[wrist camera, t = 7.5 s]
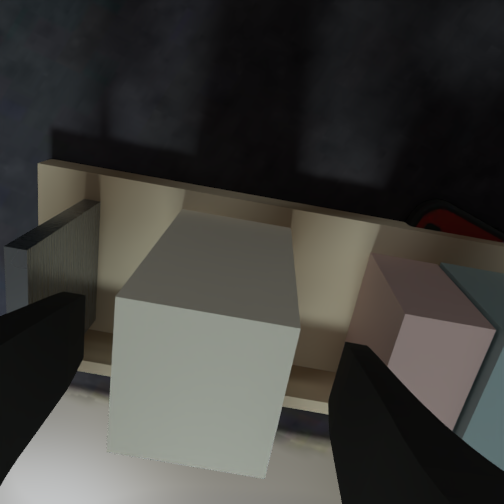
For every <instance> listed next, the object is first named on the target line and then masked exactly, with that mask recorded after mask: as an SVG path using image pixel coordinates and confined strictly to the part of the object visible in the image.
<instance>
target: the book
mask: <svg viewBox="0 0 504 504" xmlns="http://www.w3.org/2000/svg"><path fill="white" fill-rule="evenodd" d="M300 330H301V326H300V316H299V306H298V296H297V286H296V276H295V266H294V255H293V245H292V235H291V228H288V227H283V226H277V225H271V224H265V223H260V222H254V221H248V220H243V219H237V218H231V217H226V216H220V215H214V214H208V213H203V212H197V211H191V210H186V209H182V210H181V211H180V213H179V214H178V215H177V216H176V218H175V219H174V220H173V222H172V223H171V224H170V226H169V227H168V228H167V230H166V231H165V232H164V233H163V235H162V236H161V237H160V239H159V240H158V241H157V243H156V244H155V245H154V247H153V248H152V249H151V251H150V252H149V253H148V254H147V256H146V257H145V258H144V260H143V261H142V262H141V264H140V265H139V266H138V268H137V269H136V270H135V272H134V273H133V274H132V275H131V277H130V278H129V279H128V281H127V282H126V283H125V285H124V286H123V287H122V289H121V290H120V291H119V293H118V294H117V295H116V296H115V312H114V330H113V347H112V365H111V382H110V400H109V418H108V436H107V452H109V453H115V454H121V455H127V456H132V457H138V458H144V459H150V460H157V461H163V462H168V463H174V464H180V465H186V466H191V467H198V468H203V469H210V470H215V471H221V472H227V473H233V474H239V475H245V476H251V477H257V478H262V479H265V476H266V471H267V467H268V463H269V459H270V455H271V450H272V446H273V442H274V438H275V434H276V430H277V426H278V421H279V417H280V413H281V409H282V405H283V401H284V396H285V392H286V388H287V384H288V380H289V376H290V371H291V367H292V363H293V359H294V355H295V351H296V346H297V342H298V338H299V334H300Z"/></svg>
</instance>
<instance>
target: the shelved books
mask: <svg viewBox="0 0 504 504" xmlns="http://www.w3.org/2000/svg"><path fill="white" fill-rule="evenodd" d="M345 342H350V343H356V344H362V345H367V346H368V347H369V348H370V349H372V351H373V352H374V353H375V354H376V355H377V356H378V357H379V358H380V359H381V360H382V361H383V362H384V363H385V365H386V366H387V367H388V368H389V369H390V370H391V371H392V372H393V373H394V374H395V376H396V377H397V378H398V379H399V380H400V381H401V382H402V383H403V384H404V385H405V386H406V387H407V388H408V389H409V390H410V391H411V393H412V394H413V395H414V396H415V397H416V398H417V399H418V400H419V401H420V402H421V403H422V404H423V405H424V406H425V407H427V408H428V409H429V410H430V411H431V412H432V413H433V414H434V415H435V416H436V417H437V418H438V419H439V420H440V421H441V422H442V423H444V424H445V425H446V426H447V427H448V428H449V429H450V430H452V431H453V432H454V433H455V434H456V435H458V436H459V437H460V438H461V439H462V440H464V441H465V442H466V443H467V444H469V445H470V446H471V447H472V448H473V449H475V450H476V451H477V452H478V453H480V454H481V455H482V456H484V457H485V458H486V459H488V460H489V461H490V462H492V463H493V464H495V465H496V466H497V467H499V468H500V469H502V470H503V471H504V273H498V272H492V271H487V270H481V269H475V268H470V267H464V266H459V265H453V264H447V263H442V262H441V263H440V266H438V264H433V263H427V262H422V261H416V260H410V259H405V258H399V257H393V256H388V255H382V254H377V253H370V257H369V260H368V264H367V267H366V270H365V274H364V277H363V281H362V284H361V288H360V291H359V295H358V298H357V301H356V305H355V308H354V312H353V315H352V319H351V322H350V326H349V329H348V332H347V336H346V339H345ZM344 345H345V343H344ZM343 348H344V346H343ZM342 351H343V350H342ZM341 355H342V353H341ZM340 358H341V357H340ZM339 361H340V360H339Z"/></svg>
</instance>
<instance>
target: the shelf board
mask: <svg viewBox="0 0 504 504" xmlns="http://www.w3.org/2000/svg"><path fill="white" fill-rule="evenodd" d="M83 199H89V200H94V201H100V202H101V206H100V229H99V253H98V276H97V300H96V320H95V321H94V323H93V324H92V325H91V326H90V328H89V329H88V330H87V332H86V333H85V334H84V358H83V360H82V362H81V364H80V366H79V368H78V370H77V371H82V372H88V373H93V374H99V375H105V376H111V365H112V347H113V330H114V312H115V296H116V295H117V294H118V293H119V291H120V290H121V289H122V287H123V286H124V285H125V283H126V282H127V281H128V279H129V278H130V277H131V275H132V274H133V273H134V272H135V270H136V269H137V268H138V266H139V265H140V264H141V262H142V261H143V260H144V258H145V257H146V256H147V254H148V253H149V252H150V251H151V249H152V248H153V247H154V245H155V244H156V243H157V241H158V240H159V239H160V237H161V236H162V235H163V233H164V232H165V231H166V230H167V228H168V227H169V226H170V224H171V223H172V222H173V220H174V219H175V218H176V216H177V215H178V214H179V213H180V211H181V210H182V209H186V210H191V211H197V212H203V213H208V214H214V215H220V216H226V217H231V218H237V219H243V220H248V221H254V222H260V223H265V224H271V225H277V226H283V227H288V228H291V235H292V245H293V255H294V266H295V276H296V286H297V296H298V306H299V316H300V326H301V330H300V334H299V338H298V342H297V346H296V351H295V355H294V359H293V363H292V367H291V371H290V376H289V380H288V384H287V388H286V392H285V396H284V401H283V405H282V406H283V407H289V408H295V409H301V410H306V411H312V412H318V413H324V414H328V399H329V396H330V393H331V389H332V386H333V382H334V379H335V375H336V372H337V369H338V365H339V362H340V361H339V360H340V357H341V353H342V350H343V346H344V343H345V339H346V336H347V332H348V329H349V326H350V322H351V319H352V315H353V312H354V308H355V305H356V301H357V298H358V295H359V291H360V288H361V284H362V281H363V277H364V274H365V270H366V267H367V264H368V260H369V257H370V253H377V254H382V255H388V256H393V257H399V258H405V259H410V260H416V261H422V262H427V263H433V264H438V266H440V263H441V262H442V263H447V264H453V265H459V266H464V267H470V268H475V269H481V270H487V271H492V272H498V273H504V243H502V242H496V241H491V240H485V239H479V238H474V237H468V236H462V235H456V234H451V233H445V232H439V231H433V230H428V229H422V228H417V227H411V226H409V225H408V224H407V223H406V222H401V221H396V220H390V219H385V218H379V217H373V216H368V215H362V214H357V213H351V212H345V211H340V210H334V209H329V208H323V207H318V206H312V205H306V204H301V203H295V202H290V201H284V200H279V199H273V198H267V197H262V196H256V195H251V194H245V193H239V192H234V191H228V190H223V189H217V188H212V187H206V186H200V185H195V184H189V183H184V182H178V181H173V180H167V179H161V178H156V177H150V176H145V175H139V174H133V173H128V172H122V171H117V170H111V169H106V168H100V167H94V166H89V165H83V164H78V163H72V162H66V161H61V160H55V159H49V160H46V161H43V162H40V163H38V221H39V225H41V224H43V223H44V222H46V221H48V220H49V219H51V218H53V217H54V216H56V215H58V214H59V213H61V212H63V211H65V210H66V209H68V208H70V207H71V206H73V205H75V204H76V203H78V202H80V201H81V200H83Z"/></svg>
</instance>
